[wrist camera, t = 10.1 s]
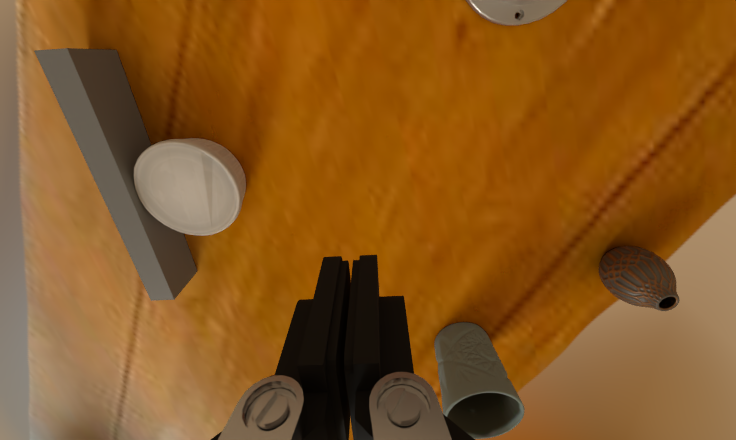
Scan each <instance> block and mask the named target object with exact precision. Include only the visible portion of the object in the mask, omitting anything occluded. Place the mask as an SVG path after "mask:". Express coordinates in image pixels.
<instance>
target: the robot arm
mask: <svg viewBox="0 0 736 440" xmlns="http://www.w3.org/2000/svg"><path fill="white" fill-rule="evenodd" d="M466 1H467V2H468V4H469V5H470V6H471V7H472V9H473V10H474V11H475V12H477V13H478V14H479V15H480V16H481V17H483V18H484V19H487V20H489V21H491V22H493V23H496V24H501V25H505V26H506V25H521V24H527V23H530V22H533V21H536V20H539V19H542V18H543V17H545V16H547V15H549V14H551V13H552V12H554V11H555V10H556V9H558V8H559V7H560V6H562V5H563V4H564V3H565V2H566V1H567V0H466ZM515 13H517V14H518V18H517V19H515ZM350 416H351V424H352V431H353V438H354V440H475V439H474V438H473V437H471V436H470V435H469V434H468V433H466V432H465V431H464V430H463V429H461V428H460V427H459V426H458V425H456V424H455V423H454V422H453V421H451V420H450V419H449V418H448V417H446V416H445V415H444V414H443V413H442V410H441V407H440V405H439V402H438V399H437V396H436V394H435V392H434V390H433V388H432V387H431V386H430V385H429V384H428V383H427V382H426V381H425V380H424V379H423V378H421V377H419V376H418V375H416V374H414V371H413V363H412V355H411V348H410V340H409V332H408V325H407V317H406V309H405V302H404V296H387V297H379V283H378V264H377V255H362V256H360V259H359V260H353V267H352V278H351V280H350V271H349V262H348V261H342V257H341V256H338V257H324V258H323V262H322V266H321V270H320V274H319V278H318V282H317V286H316V290H315V294H314V298H313V299H308V300H299V301H298V302H297V305H296V308H295V311H294V314H293V318H292V321H291V324H290V327H289V331H288V334H287V337H286V340H285V344H284V347H283V350H282V353H281V357H280V360H279V363H278V366H277V369H276V373H275V376H271V377H267V378H264V379H262V380H260V381H258V382H257V383H255V384H253V385H252V386H251V387H250V388H249V389H248V390H247V391H246V392H245V393H244V394H243V396H242V397H241V399H240V400H239V402H238V403H237V405H236V407H235V409H234V411H233V413H232V415H231V416H230V418H229V420H228V422H227V424H226V426H225V427H224V429H223V431H222V432H220V433H219V434H218V435H216V436H215V437H214V438H212V439H211V440H349V427H350Z"/></svg>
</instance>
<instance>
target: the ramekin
mask: <svg viewBox="0 0 736 440" xmlns="http://www.w3.org/2000/svg"><path fill="white" fill-rule="evenodd" d="M133 175H134V185H135V189H136V192H137V194H138V196H139V199H140V201H141V202H142V204H143V205H144V207H145V208H146V210H147V211H148V212H149V213H150V214H151V215H153V216H154V217H155V218H156V219H157V220H159V221H160V222H161V223H163V224H164V225H166V226H168V227H170V228H172V229H174V230H176V231H179V232H181V233H185V234H190V235H201V236H204V235H212V234H215V233H218V232H220V231H222V230H224V229H226V228H227V227H228V226H230V225H231V224H232V223H233V222H234V220H235V219H236V218H237V216H238V214H239V212H240V210H241V206H242V201H243V198H244V195H245V191H246V179H245V174H244V171H243V169H242V167H241V165H240V163H239V162H238V160H237V159H236V158H235V156H234V155H233V154H232V153H231V152H230V151H228V150H227V149H226V148H225V147H223V146H222V145H220V144H217V143H215V142H213V141H210V140H206V139H200V138H187V139H170V140H165V141H161V142H158V143H156V144H154V145H152V146H150V147H148V148H147V149H146V150H145V151H144V152H142V153H141V155H140V156H139V158H138V159H137V161H136V164H135V166H134V174H133Z"/></svg>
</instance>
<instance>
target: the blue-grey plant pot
mask: <svg viewBox="0 0 736 440" xmlns="http://www.w3.org/2000/svg"><path fill="white" fill-rule="evenodd" d="M435 353H436V360H437V361H438V374H439V381H440V387H441V393H442V406H443V414H444V415H445V416H446V417H448V418H449V419H450V420H451V421H453V422H454V423H455V424H456V425H458V426H459V427H460V428H461V429H463V430H464V431H465V432H466V433H468V434H469V435H470V436H471V437H473V438H474V439H481V438H490V437H495V436H499V435H502V434H504V433H506V432H508V431H510V430H511V429H513V428H514V427H515V426H516V425H517V424H519V423H520V421H521V420H522V418H523V416H524V406H523V404H522V402H521V400H520V398H519V396H518V394H517V392H516V390H515V389H514V387H513V385H512V383H511V381H510V380H509V379H508V378H507V373H506V371H505V369H504V367H503V365H502V363H501V360H500V359H499V357H498V356H497V353H496V351H495V349H494V347H493V345H492V343H491V341H490V339H489V337H488V335H487V333H486V332H485V331H484V330H483V329H482V328H481V327H480V326H478V325H476V324H473V323H468V322H460V323H455V324H451V325H449V326H447V327H445V328H444V329H442V330H441V331H440V332H439V334H438V335H437V337H436V339H435Z"/></svg>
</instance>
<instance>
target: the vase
mask: <svg viewBox="0 0 736 440" xmlns="http://www.w3.org/2000/svg"><path fill="white" fill-rule="evenodd" d="M599 275H600V278H601V280H602V282H603V284H604V285H605V287H606V288H607V289H608V290H609V291H610V292H611V293H612V294H613V295H615V296H616V297H617V298H619V299H621V300H622V301H625V302H627V303H629V304H632V305H635V306H641V307H650V308H655V309H657V310H661V311H668V310H671V309H673V308H674V307H676V306H677V305H678V303H679V297H678V295H677V292H676V278H675V275H674V273H673V271H672V269H671V268H670V267H669V265H668V264H667V263H666V262H665V261H664V260H663V259H662V258H660V257H659V256H657V255H656V254H654V253H653V252H651V251H649V250H646V249H643V248H640V247H635V246H622V247H618V248H615V249H612V250H610V251H609V252H607V253H606V254H605V255H604V256H603V258H602V259H601V261H600V264H599Z"/></svg>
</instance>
